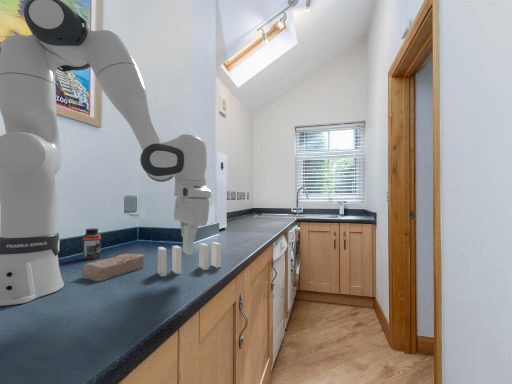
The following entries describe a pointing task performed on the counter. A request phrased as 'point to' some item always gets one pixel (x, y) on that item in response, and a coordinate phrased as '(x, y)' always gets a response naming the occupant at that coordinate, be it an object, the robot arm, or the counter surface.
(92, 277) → the brick
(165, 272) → the domino
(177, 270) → the domino
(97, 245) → the supplement bottle
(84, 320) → the counter surface
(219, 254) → the domino
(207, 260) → the domino
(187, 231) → the pale green domino
